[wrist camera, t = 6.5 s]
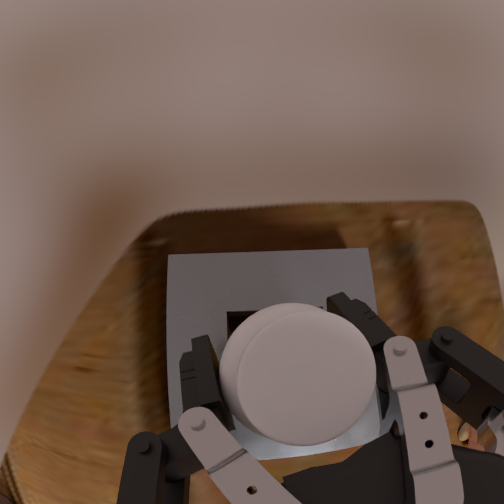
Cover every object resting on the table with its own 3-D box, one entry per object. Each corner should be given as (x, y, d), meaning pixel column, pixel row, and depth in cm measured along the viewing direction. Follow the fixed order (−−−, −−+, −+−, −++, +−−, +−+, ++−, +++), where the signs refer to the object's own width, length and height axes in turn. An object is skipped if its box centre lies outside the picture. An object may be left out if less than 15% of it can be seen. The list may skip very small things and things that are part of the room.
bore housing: (183, 445, 17) (174, 458, 14) (177, 267, 22) (168, 254, 19) (365, 430, 18) (381, 439, 15) (353, 260, 22) (367, 247, 19)
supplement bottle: (208, 365, 16) (166, 382, 7) (271, 302, 17) (303, 246, 8) (274, 423, 15) (309, 497, 6) (334, 360, 16) (426, 362, 7)
